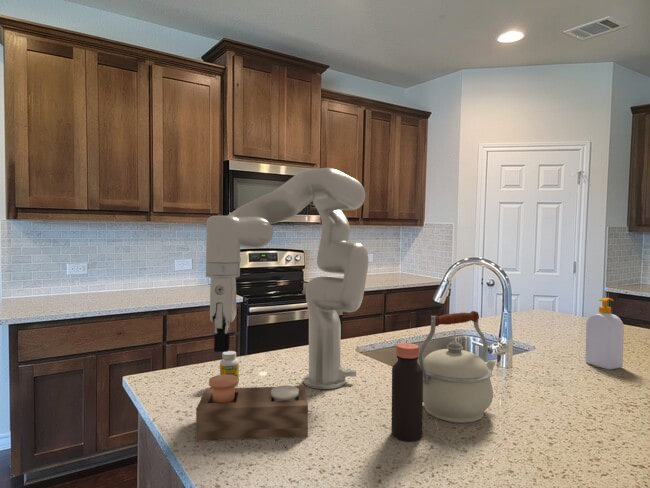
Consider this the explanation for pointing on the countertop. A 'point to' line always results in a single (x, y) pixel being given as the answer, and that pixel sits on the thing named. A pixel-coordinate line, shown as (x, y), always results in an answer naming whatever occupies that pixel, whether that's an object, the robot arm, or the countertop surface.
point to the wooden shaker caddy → (252, 416)
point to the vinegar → (407, 394)
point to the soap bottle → (604, 338)
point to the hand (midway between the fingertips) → (221, 350)
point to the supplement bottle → (229, 364)
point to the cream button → (285, 393)
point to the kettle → (456, 376)
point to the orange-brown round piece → (223, 388)
